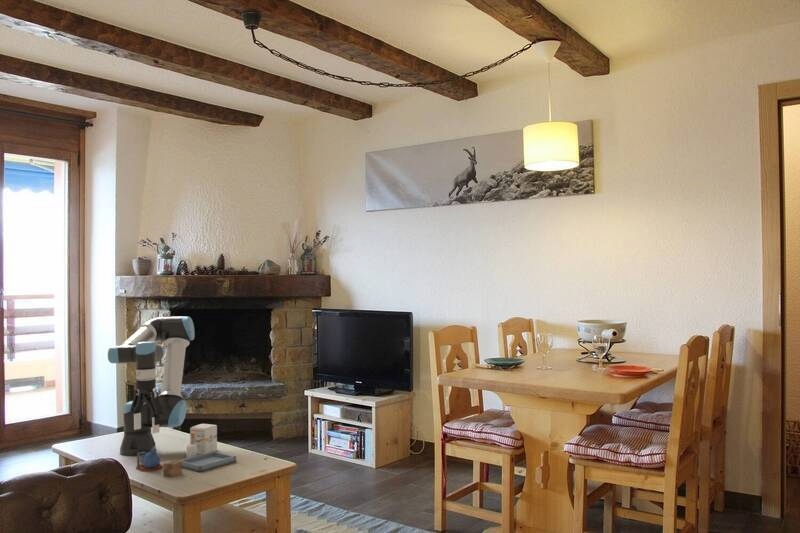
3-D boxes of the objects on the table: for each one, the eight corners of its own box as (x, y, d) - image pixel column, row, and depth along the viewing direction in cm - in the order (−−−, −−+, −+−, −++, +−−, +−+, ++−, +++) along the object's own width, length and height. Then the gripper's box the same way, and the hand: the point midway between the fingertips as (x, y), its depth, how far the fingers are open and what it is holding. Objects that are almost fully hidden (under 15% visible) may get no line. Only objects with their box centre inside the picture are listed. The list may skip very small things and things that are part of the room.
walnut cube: (163, 476, 258) (163, 463, 258) (171, 472, 263) (171, 460, 263) (173, 477, 257) (173, 464, 257) (181, 473, 261) (181, 461, 261)
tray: (177, 466, 271) (177, 460, 271) (214, 456, 285) (214, 451, 286) (199, 472, 262) (199, 466, 262) (236, 461, 276) (236, 456, 276)
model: (167, 468, 270) (166, 445, 270) (145, 473, 263) (145, 450, 264) (152, 463, 278) (152, 441, 278) (131, 468, 271) (131, 445, 271)
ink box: (189, 453, 293) (189, 427, 293) (202, 448, 300) (201, 423, 301) (205, 454, 289) (205, 428, 290) (217, 450, 297) (217, 424, 297)
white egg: (184, 460, 281) (184, 446, 282) (193, 457, 285) (193, 443, 285) (190, 461, 279) (190, 447, 279) (199, 459, 282) (199, 445, 282)
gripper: (121, 378, 276) (121, 429, 275) (154, 382, 261) (155, 436, 260) (137, 376, 282) (138, 426, 281) (171, 380, 267) (172, 432, 266)
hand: (146, 431), depth 271 cm, fingers open, 13 cm apart
